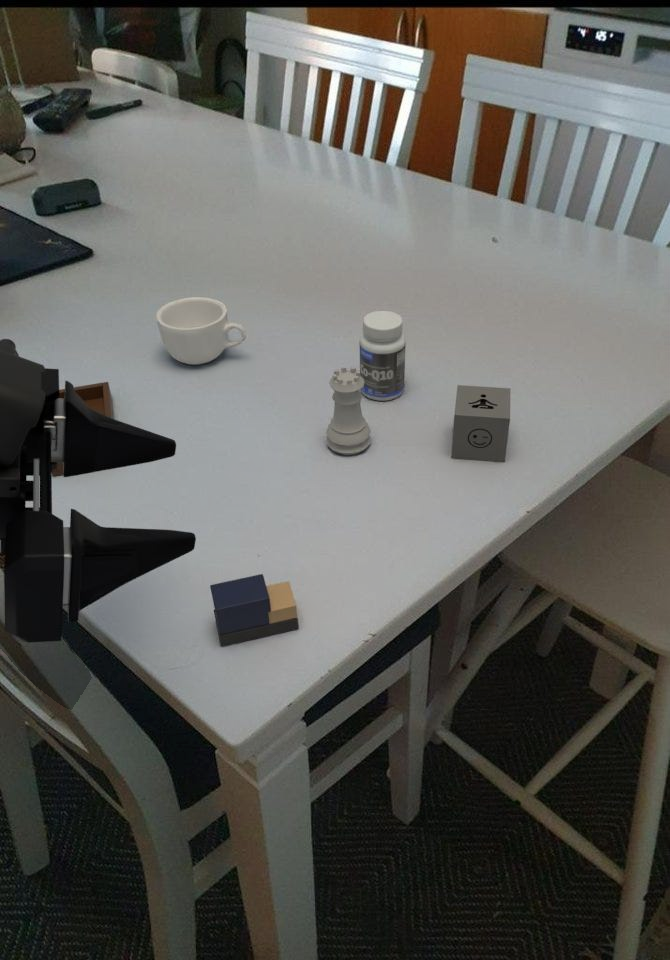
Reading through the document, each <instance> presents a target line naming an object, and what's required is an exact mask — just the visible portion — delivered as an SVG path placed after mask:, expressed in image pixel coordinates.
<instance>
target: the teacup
mask: <svg viewBox="0 0 670 960" xmlns="http://www.w3.org/2000/svg"><path fill="white" fill-rule="evenodd" d="M155 317H156V323H157V328H158V330H159V334H160V338H161V341H162V344H163V346H164V347H165V350H166V351H167V353H168V354H169V355H170V357H172V358H173V359H174V360H176V361H177V362H180V363H183V364H186V365H191V366H198V365H205V364H207V363H210V362H212V361H213V360H215V359H217V358H218V357H219V356H220V355H221V354H222V353H223V352H224V350H225V349H229V348H230V349H231V348H234V347H237V346H239V345H241V344H243V342H244V341H246V339H247V333H246V330H245V328H244V327H243V326H242V325H241V324H239V323H236V322H229V318H228V310H227V306H225V303H223V302H221V301H219V300H217V299H214V298H210V297H203V296H202V297H201V296H194V297H183V298H179V299H176V300H173V301H170V302H168V303H166V304H164V305H163V306H161V307H160V308H159V309H158V311H157V312H156V315H155ZM233 329H236V330H238V331H239V332H240V335H241V338H240V339H239V340H230V339H229V333H230V331H231V330H233Z"/></svg>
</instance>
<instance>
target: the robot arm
mask: <svg viewBox="0 0 670 960" xmlns="http://www.w3.org/2000/svg"><path fill="white" fill-rule="evenodd" d="M16 347H17V346H16V343H15V342H14V341H13V339H9V338H2V339H0V556H2V557H3V556H4V563H3V564H4V565H3V586H4V587H3V589H4V590H3V593H4V596H3V597H4V631H5V632H6V633H8V634H9V635H11V636H12V637H15V638H16V639H18V640H19V641H21V642H23V643H27V644H29V643H46V642H61V641H62V635H63V634H62V631H63V607H64V606H67V623H68V624H70V623H77V622H78V621H79V616H80V611H82V610H84V609H85V608H87V607H89V606H91V605H92V604H93V603H96V602H97V601H99V600H100V599H102V598H104V597H105V596H107V595H108V594H110V593H112V592H113V591H115V590H117V589H119V588H121V587H122V586H124V585H127V584H128V583H129V582H132V581H134V580H136V579H139V578H140V577H142V576H144V575H146V574H148V573H150V572H152V571H154V570H157V569H158V568H160V567H162V566H165V565H167V564H169V563H170V562H172V561H174V560H176V559H179V558H180V557H183V556H184V555H187V554H189V553H190V552H193V551H194V549H195V547H196V541H197V537H196V534H195V532H190V531H182V530H177V529H176V530H174V529H163V528H161V529H160V528H159V529H158V528H137V527H134V528H133V527H132V528H131V527H111V526H110V527H108V526H102V525H100V524H97V523H95V521H93V520H91V519H90V518H88V517H87V516H85V514H83V513H81V512H80V511H78V510H77V509H75V508H70V518H69V526H65V527H64V520H63V519H61V518H60V517H58V516H57V515H55V514H53V489H52V488H53V484H52V483H53V481H52V480H53V479H52V477H53V476H52V472H51V471H53V470H55V469H57V462H63V478H69V477H70V478H71V477H74V476H80V475H81V476H82V475H86V474H91V473H96V472H97V473H98V472H102V471H107V470H114V469H120V468H125V467H130V466H137V465H143V464H148V463H152V462H156V461H160V460H165V459H168V458H171V457H174V456H175V455H176V450H177V442H176V440H174V439H173V438H170V437H167V436H164V435H161V434H158V433H155V432H152V431H150V430H146V429H144V428H140V427H137V426H135V425H132V424H129V423H127V422H123V421H121V420H118V419H115V418H114V419H112V418H110V417H107V416H105V415H103V414H100V413H98V412H96V411H94V410H92V409H91V408H90V407H89V406H88V405H87V404H86V403H85V402H84V401H83V400H82V398H81V397H80V396H79V395H78V394H77V393H76V392H75V390H74V387H75V386H74V384H72V383H71V382H70V381H68V380H64V389H65V399H64V398H59V390H60V369H59V368H47V367H45V366H44V364H41V363H40V362H39V363H38V362H36V361H33V360H30V359H28V358H25V357H22V356H20V355H19V352H18V351H17V350H16ZM27 476H28V477H29V476H30V477H33V480H28V479H27ZM27 502H32V507H26V506H27V505H26V503H27Z"/></svg>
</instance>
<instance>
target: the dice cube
mask: <svg viewBox="0 0 670 960" xmlns="http://www.w3.org/2000/svg"><path fill="white" fill-rule="evenodd" d="M510 422H511V388H509V387H494V386H481V385H480V386H479V385H478V386H477V385H461V384H457V386H456V397H455V406H454V415H453V429H452V440H451V441H452V443H451V455H450V457H451V459H459V460H460V459H461V460H472V461H485V462H486V461H487V462H498V463H499V462H500V463H505V462H506V455H507V446H508V438H509V431H510Z"/></svg>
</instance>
